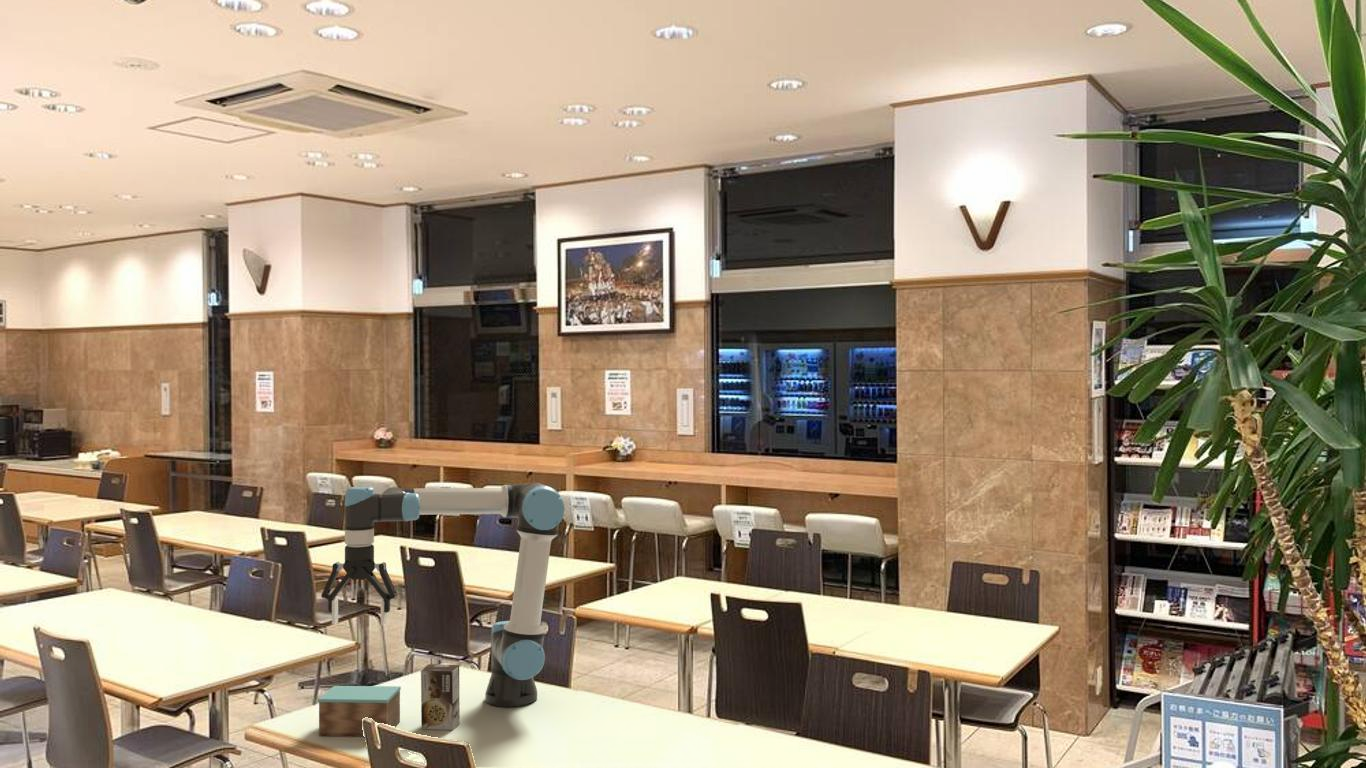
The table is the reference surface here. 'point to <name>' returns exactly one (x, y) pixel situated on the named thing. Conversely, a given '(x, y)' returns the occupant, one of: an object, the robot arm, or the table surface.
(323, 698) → the lid
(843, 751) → the table surface
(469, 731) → the table surface
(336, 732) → the box
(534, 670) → the robot arm
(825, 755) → the table surface
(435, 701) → the coffee box
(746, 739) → the table surface
